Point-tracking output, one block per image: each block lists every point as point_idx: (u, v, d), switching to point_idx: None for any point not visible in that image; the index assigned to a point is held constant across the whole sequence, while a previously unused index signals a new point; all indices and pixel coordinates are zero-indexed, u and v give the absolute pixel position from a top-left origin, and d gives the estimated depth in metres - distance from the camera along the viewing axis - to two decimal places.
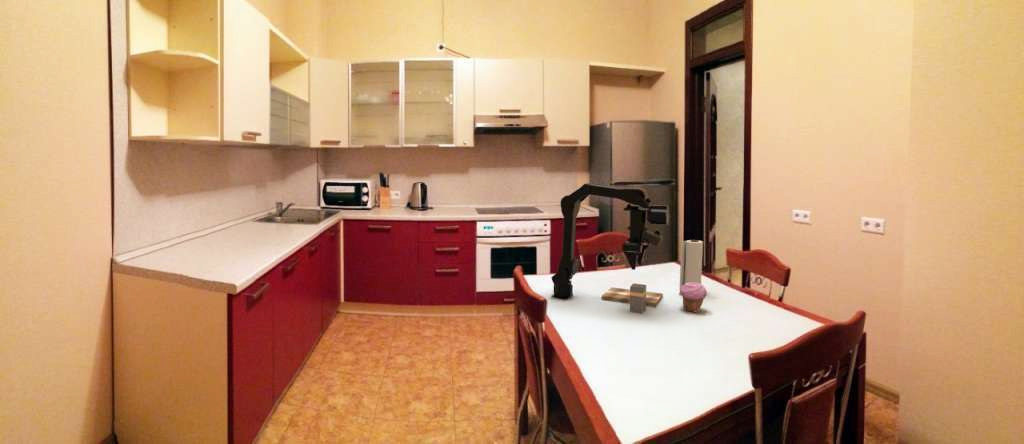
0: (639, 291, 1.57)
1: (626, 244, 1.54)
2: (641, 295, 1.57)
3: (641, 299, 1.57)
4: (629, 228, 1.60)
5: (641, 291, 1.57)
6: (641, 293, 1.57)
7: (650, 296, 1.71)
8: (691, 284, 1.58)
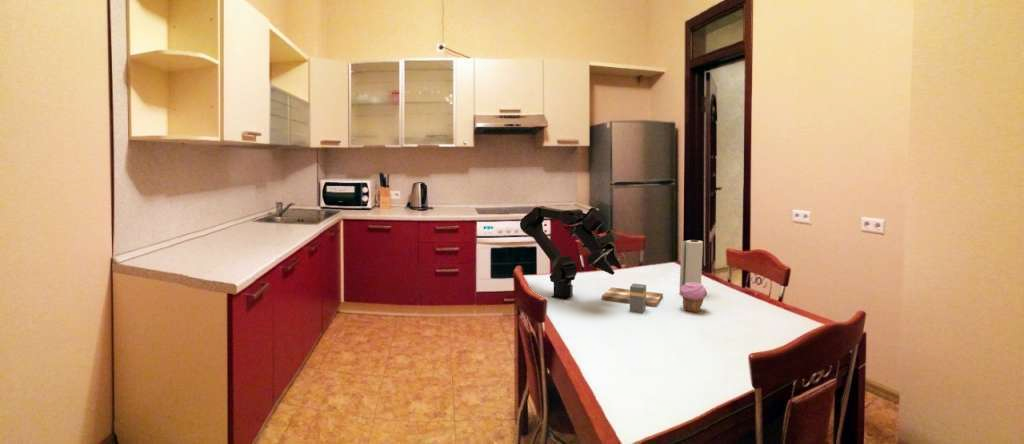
0: (639, 291, 1.57)
1: (588, 258, 1.57)
2: (641, 295, 1.57)
3: (641, 299, 1.57)
4: (584, 246, 1.64)
5: (641, 291, 1.57)
6: (641, 293, 1.57)
7: (650, 296, 1.71)
8: (691, 284, 1.58)
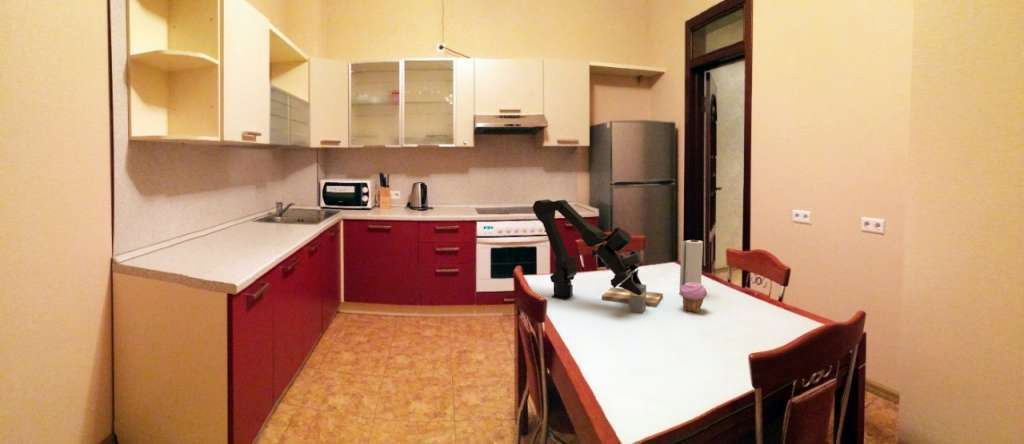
0: None
1: (613, 280, 1.54)
2: (641, 295, 1.57)
3: (641, 299, 1.57)
4: (608, 267, 1.61)
5: (641, 291, 1.57)
6: None
7: (650, 296, 1.71)
8: (691, 284, 1.58)
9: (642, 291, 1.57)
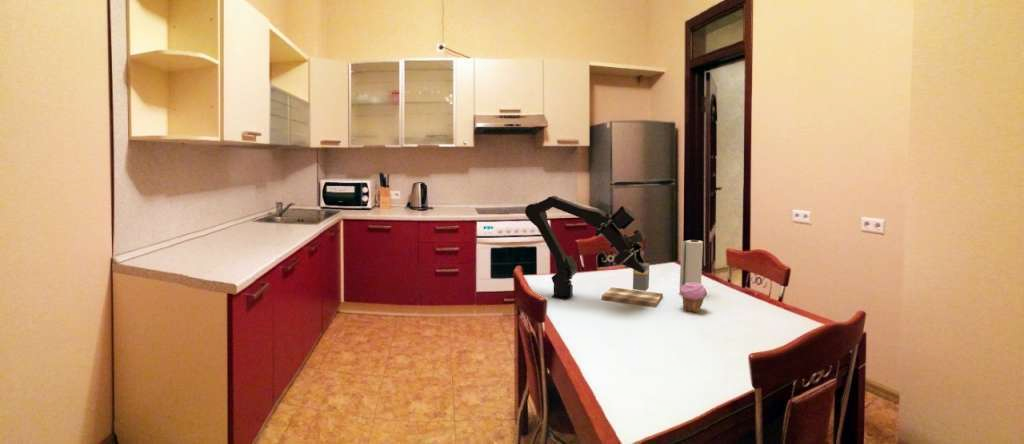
0: None
1: (616, 257, 1.57)
2: (644, 273, 1.59)
3: (644, 277, 1.60)
4: (611, 246, 1.64)
5: (644, 269, 1.59)
6: None
7: (650, 296, 1.71)
8: (691, 284, 1.58)
9: (645, 269, 1.59)
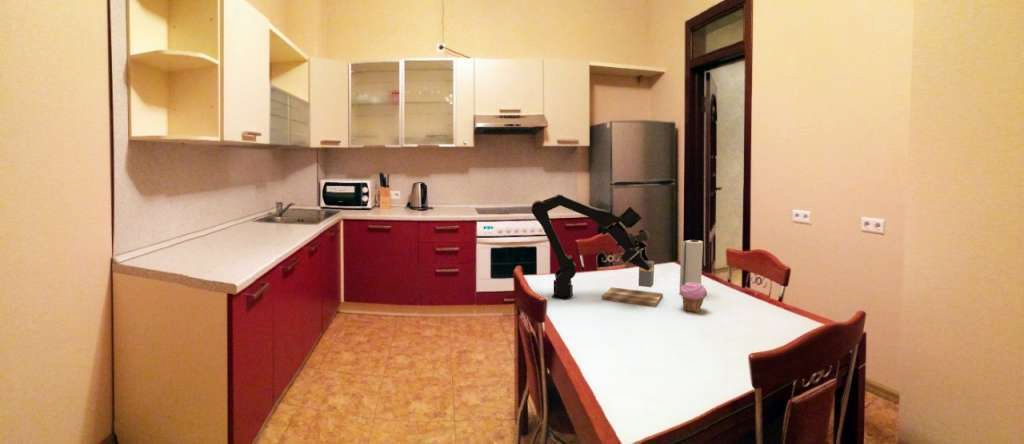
0: None
1: (623, 255, 1.64)
2: (649, 270, 1.67)
3: (649, 274, 1.67)
4: (618, 244, 1.72)
5: (649, 266, 1.67)
6: None
7: (650, 296, 1.71)
8: (691, 284, 1.58)
9: (650, 266, 1.67)
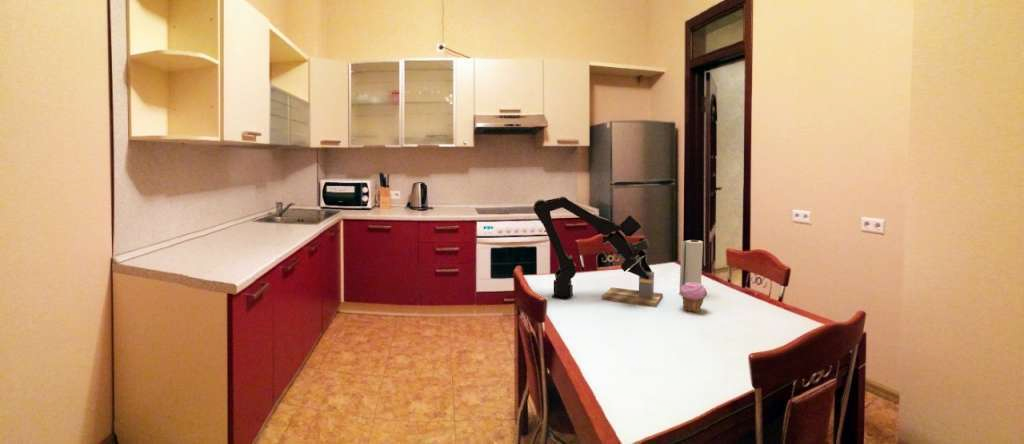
0: None
1: (623, 264, 1.65)
2: (649, 281, 1.68)
3: (649, 285, 1.68)
4: (618, 253, 1.72)
5: (649, 278, 1.68)
6: (649, 280, 1.68)
7: None
8: (691, 284, 1.58)
9: (650, 278, 1.68)
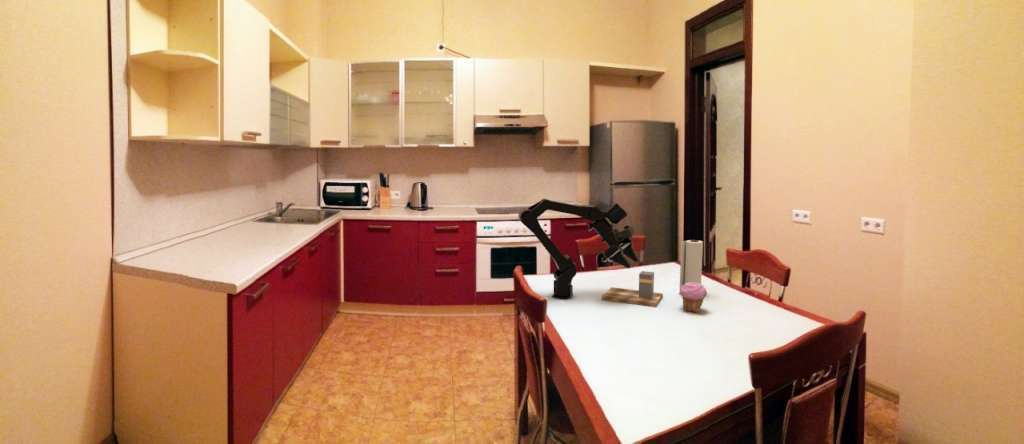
0: (647, 278, 1.68)
1: (605, 252, 1.67)
2: (649, 281, 1.68)
3: (649, 285, 1.68)
4: (603, 240, 1.74)
5: (649, 278, 1.68)
6: (649, 280, 1.68)
7: None
8: (691, 284, 1.58)
9: (650, 278, 1.68)
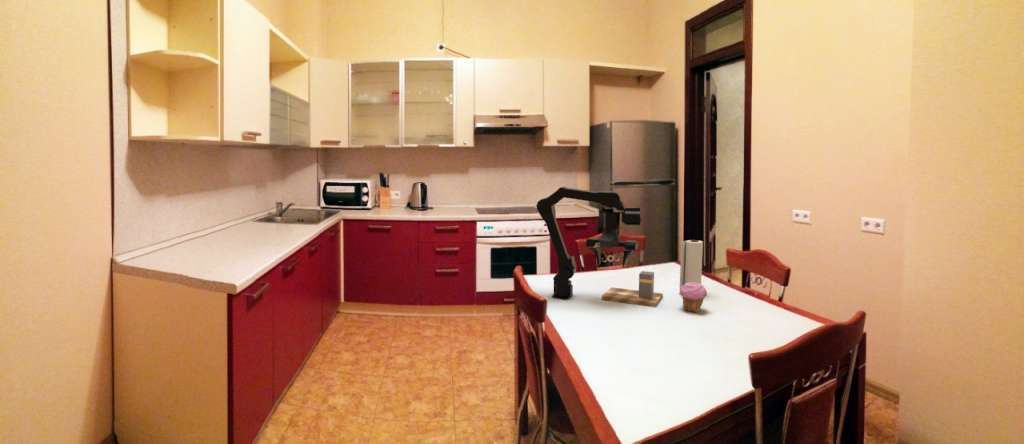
0: (647, 278, 1.68)
1: None
2: (649, 281, 1.68)
3: (649, 285, 1.68)
4: None
5: (649, 278, 1.68)
6: (649, 280, 1.68)
7: None
8: (691, 284, 1.58)
9: (650, 278, 1.68)
